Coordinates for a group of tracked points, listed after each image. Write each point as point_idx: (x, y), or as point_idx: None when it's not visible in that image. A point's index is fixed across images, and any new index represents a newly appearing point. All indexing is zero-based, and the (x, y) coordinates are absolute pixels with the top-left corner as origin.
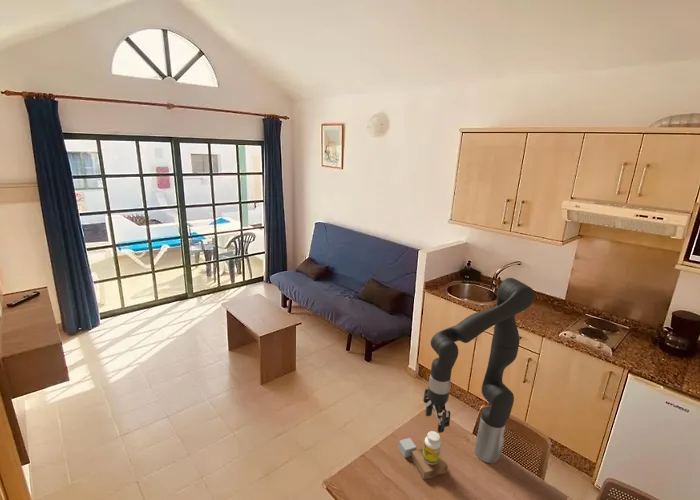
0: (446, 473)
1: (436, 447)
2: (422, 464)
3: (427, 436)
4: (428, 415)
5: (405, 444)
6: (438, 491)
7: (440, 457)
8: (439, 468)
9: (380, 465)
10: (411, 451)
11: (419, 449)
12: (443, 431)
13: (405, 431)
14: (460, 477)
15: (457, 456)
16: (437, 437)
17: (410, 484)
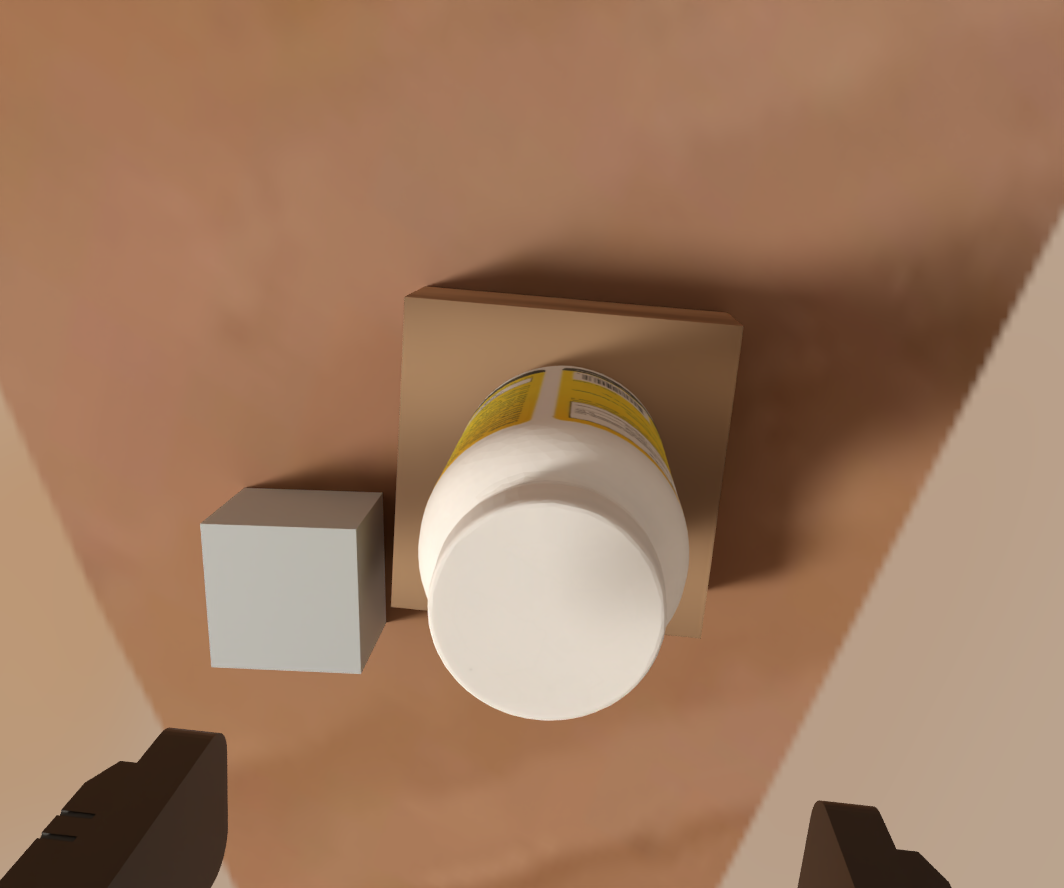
0: (726, 312)
1: (681, 582)
2: None
3: (504, 704)
4: (219, 820)
5: (283, 630)
6: (865, 527)
7: (595, 329)
8: (726, 442)
9: (392, 870)
10: (369, 572)
11: (397, 508)
12: (932, 878)
13: (47, 417)
14: (836, 184)
15: (577, 10)
16: (606, 572)
17: (681, 730)
